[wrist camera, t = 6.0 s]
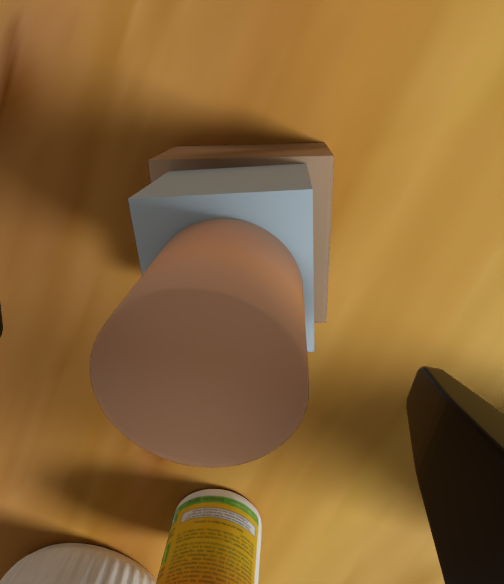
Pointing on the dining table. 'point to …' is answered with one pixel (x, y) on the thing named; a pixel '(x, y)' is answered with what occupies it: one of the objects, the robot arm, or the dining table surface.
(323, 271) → the walnut base block
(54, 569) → the ramekin
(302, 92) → the dining table surface
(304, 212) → the slate block
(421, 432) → the robot arm
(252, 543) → the supplement bottle
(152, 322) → the terracotta dowel
